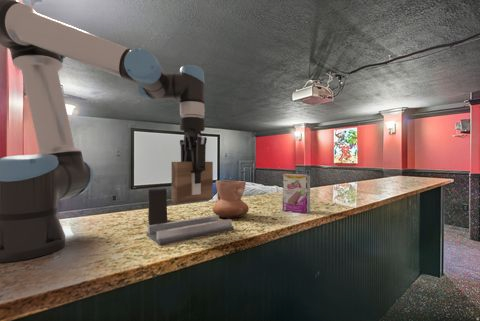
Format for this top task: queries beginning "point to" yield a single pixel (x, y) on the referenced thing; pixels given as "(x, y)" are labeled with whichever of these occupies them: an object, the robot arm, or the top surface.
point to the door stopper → (157, 206)
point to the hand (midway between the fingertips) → (192, 193)
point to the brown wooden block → (190, 182)
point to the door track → (188, 229)
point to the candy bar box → (296, 193)
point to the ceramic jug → (230, 199)
